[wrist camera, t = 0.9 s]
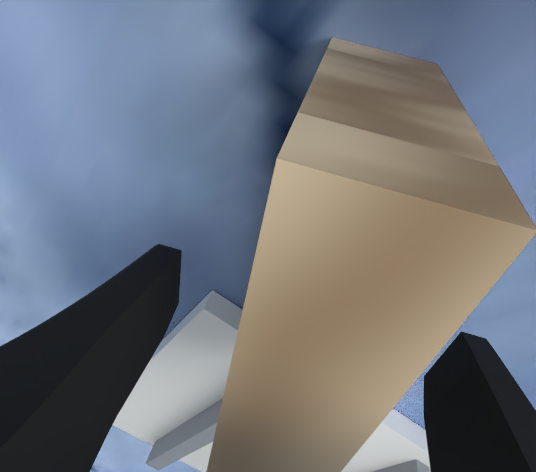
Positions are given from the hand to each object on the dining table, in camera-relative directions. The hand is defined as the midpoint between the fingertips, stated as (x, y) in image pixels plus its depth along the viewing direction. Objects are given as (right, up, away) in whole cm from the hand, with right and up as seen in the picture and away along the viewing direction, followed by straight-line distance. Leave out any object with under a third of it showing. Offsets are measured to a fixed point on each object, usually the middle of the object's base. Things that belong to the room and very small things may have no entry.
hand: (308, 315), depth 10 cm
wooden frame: (+1, +3, +4) cm, 5 cm away
